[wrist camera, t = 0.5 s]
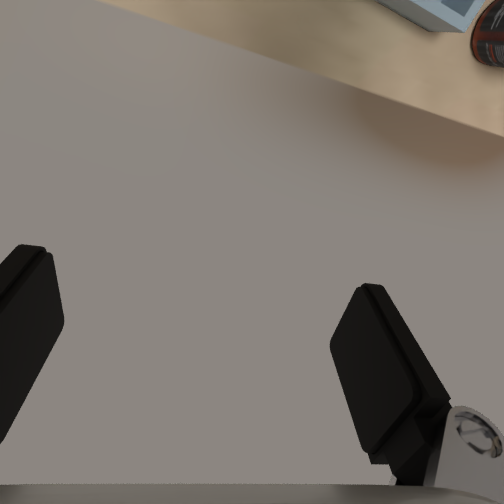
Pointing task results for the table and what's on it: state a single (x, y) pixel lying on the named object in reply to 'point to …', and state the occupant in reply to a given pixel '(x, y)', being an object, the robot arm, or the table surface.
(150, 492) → the robot arm
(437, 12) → the tote
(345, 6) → the table surface
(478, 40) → the supplement bottle
